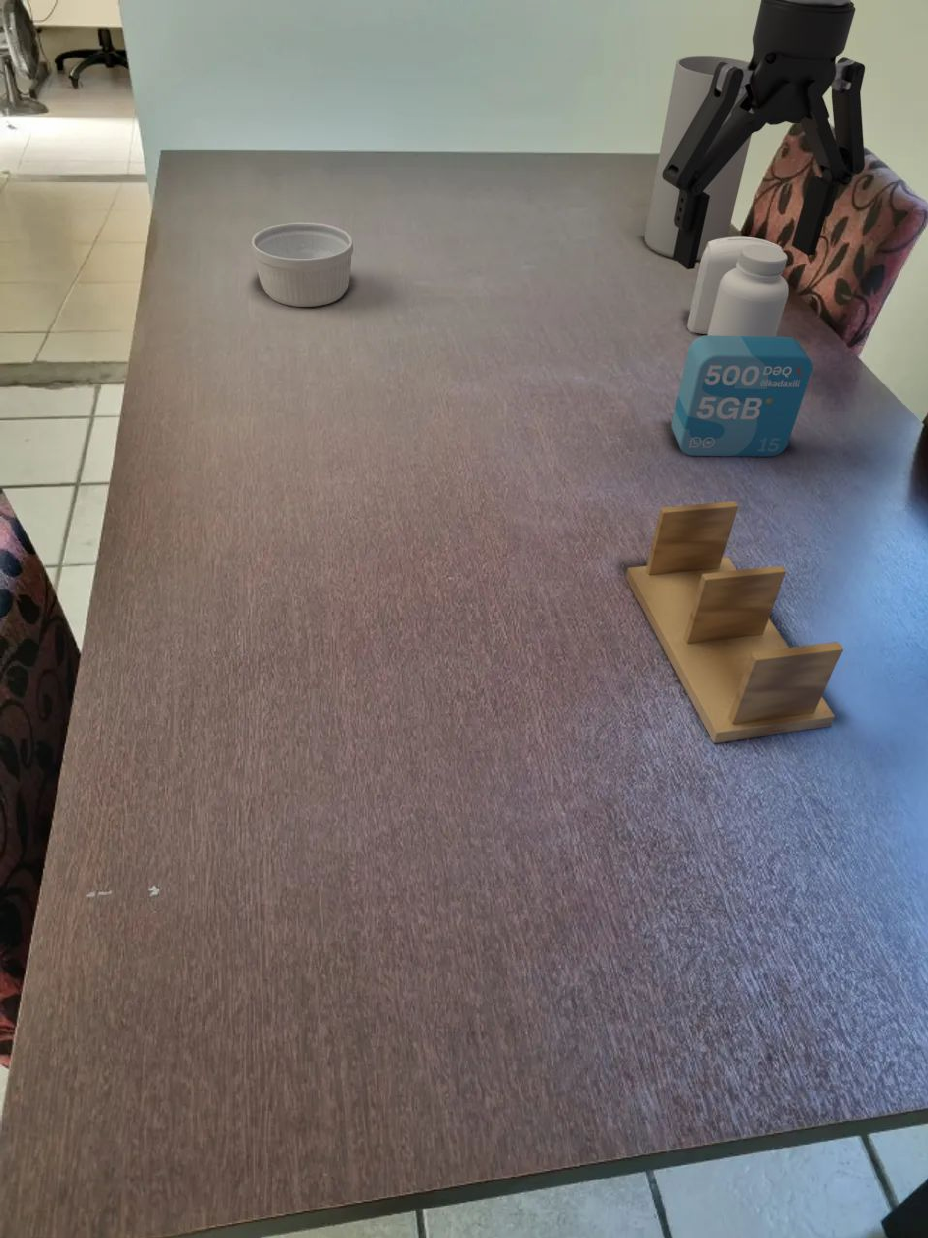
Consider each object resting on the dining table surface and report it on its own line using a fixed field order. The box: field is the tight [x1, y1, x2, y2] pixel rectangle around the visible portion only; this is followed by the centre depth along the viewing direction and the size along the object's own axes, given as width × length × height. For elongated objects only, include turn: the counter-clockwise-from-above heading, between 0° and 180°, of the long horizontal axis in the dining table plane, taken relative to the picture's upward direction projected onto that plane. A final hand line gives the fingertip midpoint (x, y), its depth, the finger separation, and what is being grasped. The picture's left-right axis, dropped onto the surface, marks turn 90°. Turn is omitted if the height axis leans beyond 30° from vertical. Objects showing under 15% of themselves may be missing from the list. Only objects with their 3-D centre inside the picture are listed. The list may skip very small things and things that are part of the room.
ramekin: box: [251, 222, 354, 308], centre depth 126 cm, size 13×13×7 cm
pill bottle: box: [707, 245, 789, 337], centre depth 112 cm, size 8×8×15 cm
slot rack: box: [625, 500, 844, 744], centre depth 77 cm, size 10×20×8 cm, turn 12°
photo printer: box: [686, 235, 784, 335], centre depth 122 cm, size 10×4×12 cm, turn 85°
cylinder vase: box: [644, 55, 754, 262], centre depth 139 cm, size 12×12×25 cm
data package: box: [670, 334, 814, 458], centre depth 100 cm, size 12×4×12 cm, turn 94°
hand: (744, 256), depth 90 cm, fingers open, 13 cm apart
